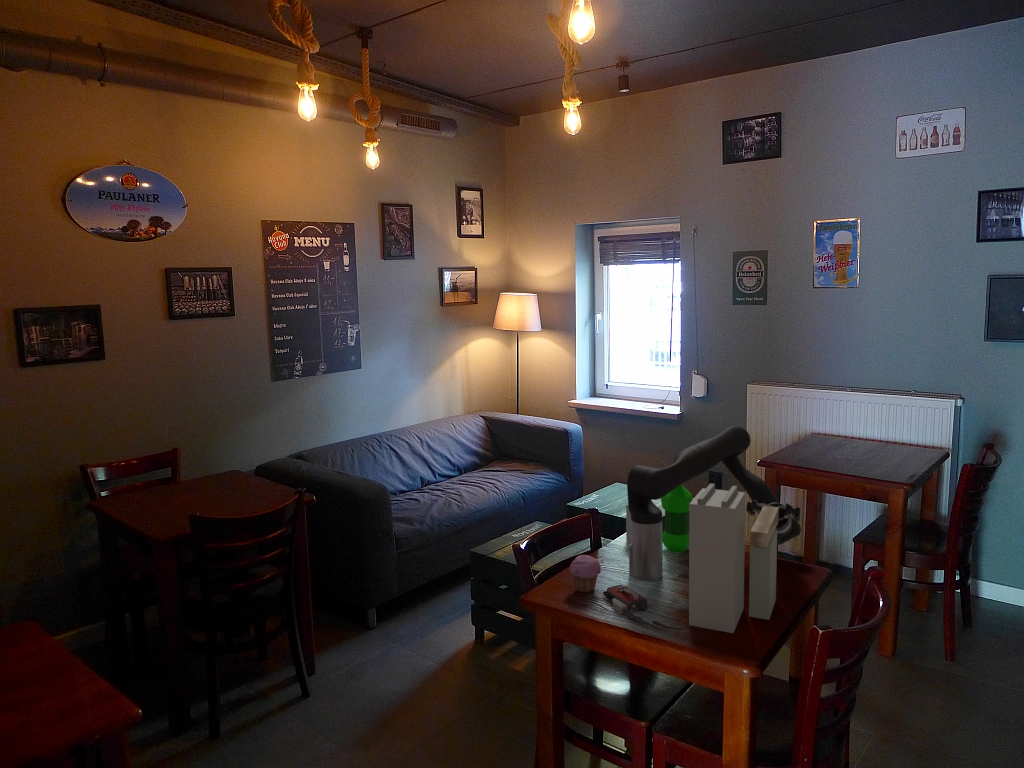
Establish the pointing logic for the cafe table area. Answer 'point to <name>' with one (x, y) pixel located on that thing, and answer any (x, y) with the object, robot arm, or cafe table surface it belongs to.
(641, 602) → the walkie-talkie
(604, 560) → the cafe table surface
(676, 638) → the cafe table surface
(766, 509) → the birch bar
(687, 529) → the plastic bottle
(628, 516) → the small box
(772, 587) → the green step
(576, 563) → the cupcake
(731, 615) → the grey stand
